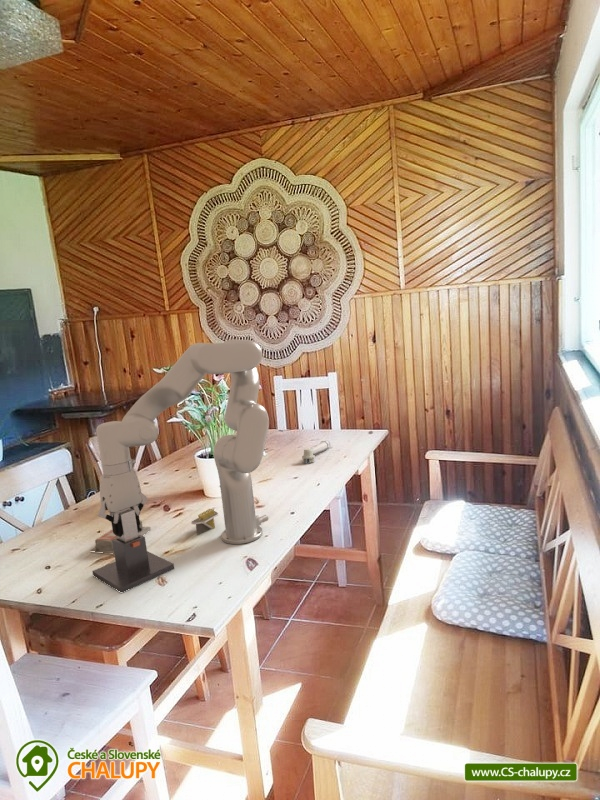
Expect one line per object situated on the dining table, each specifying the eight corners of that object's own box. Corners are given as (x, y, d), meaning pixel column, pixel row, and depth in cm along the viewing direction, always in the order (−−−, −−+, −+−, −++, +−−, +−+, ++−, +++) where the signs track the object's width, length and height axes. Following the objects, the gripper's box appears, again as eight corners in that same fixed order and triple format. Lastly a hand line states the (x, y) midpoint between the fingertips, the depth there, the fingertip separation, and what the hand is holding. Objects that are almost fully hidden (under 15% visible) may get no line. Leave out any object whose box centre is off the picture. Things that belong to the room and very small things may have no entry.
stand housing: (144, 554, 170) (139, 522, 168) (174, 568, 159) (169, 534, 157) (93, 576, 159) (87, 542, 157) (121, 593, 148) (115, 557, 146)
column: (135, 561, 161) (127, 506, 158) (143, 565, 158) (134, 509, 155) (122, 567, 158) (113, 511, 156) (129, 571, 155) (120, 514, 153)
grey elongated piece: (331, 440, 265) (310, 447, 242) (332, 454, 266) (311, 463, 243) (321, 440, 267) (299, 447, 244) (321, 454, 268) (300, 463, 245)
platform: (240, 523, 187) (237, 504, 186) (203, 546, 172) (200, 525, 171) (212, 519, 194) (209, 500, 193) (174, 540, 179) (171, 520, 178)
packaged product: (115, 540, 171) (87, 539, 174) (117, 556, 172) (90, 554, 175) (149, 517, 187) (124, 516, 191) (151, 531, 188) (126, 529, 192)
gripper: (138, 457, 162) (147, 518, 165) (80, 474, 150) (91, 540, 153) (152, 461, 156) (161, 524, 160) (93, 479, 145) (104, 546, 148)
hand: (127, 531), depth 157 cm, fingers open, 4 cm apart
